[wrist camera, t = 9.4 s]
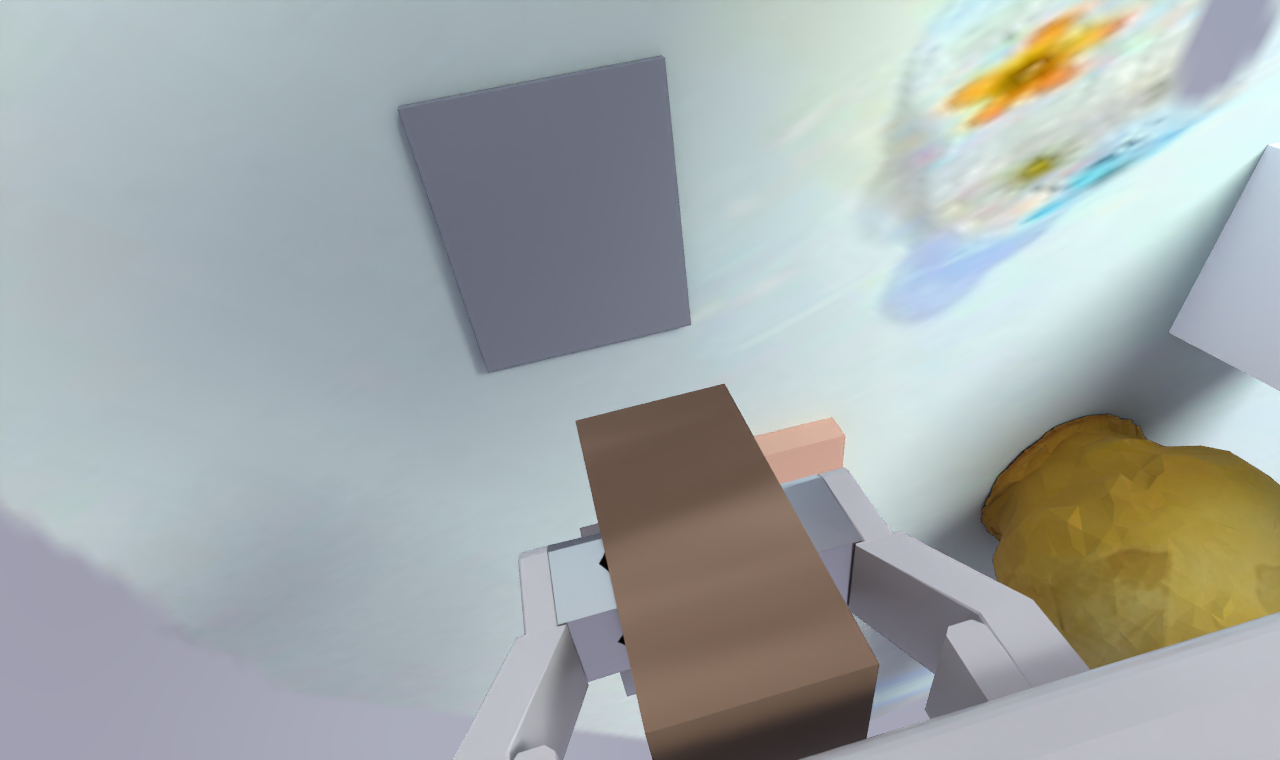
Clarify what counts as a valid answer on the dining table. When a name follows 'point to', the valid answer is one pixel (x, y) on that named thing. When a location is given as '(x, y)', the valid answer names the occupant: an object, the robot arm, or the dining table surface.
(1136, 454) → the pitcher
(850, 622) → the brown block
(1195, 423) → the dining table surface
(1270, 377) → the milk
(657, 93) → the pad
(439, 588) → the dining table surface
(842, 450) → the tile
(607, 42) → the dining table surface
